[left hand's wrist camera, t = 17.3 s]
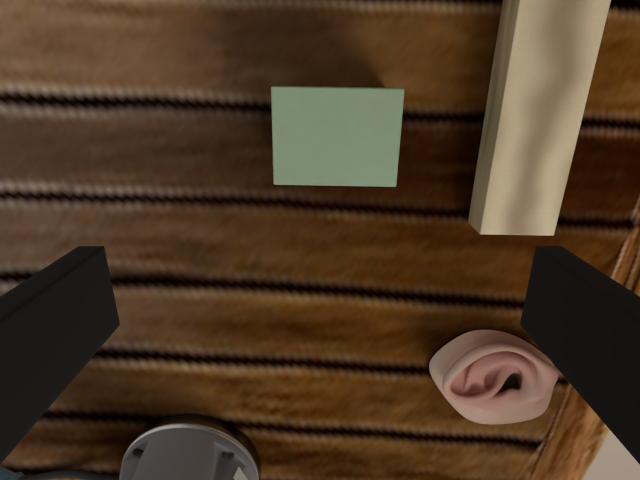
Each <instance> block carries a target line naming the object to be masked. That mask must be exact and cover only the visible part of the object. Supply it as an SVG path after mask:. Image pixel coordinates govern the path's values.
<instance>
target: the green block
mask: <svg viewBox="0 0 640 480" xmlns="http://www.w3.org/2000/svg"><path fill="white" fill-rule="evenodd" d="M403 101H404V89H403V88H381V87H321V86H272V87H271V104H272V140H273V177H274V184H275V185H327V186H382V187H395V186H396V182H397V171H398V159H399V147H400V136H401V124H402V113H403Z"/></svg>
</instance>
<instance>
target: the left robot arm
mask: <svg viewBox="0 0 640 480" xmlns="http://www.w3.org/2000/svg"><path fill="white" fill-rule="evenodd" d="M119 325H120V323H119V318H118V313H117V308H116V303H115V298H114V293H113V288H112V283H111V279H110V274H109V269H108V264H107V259H106V254H105V249H104V246H79V247H77V248H75V249H74V250H72V251H71V252H69V253H68V254H66V255H65V256H63V257H61V258H60V259H58V260H57V261H55V262H54V263H52V264H51V265H49V266H47V267H46V268H44V269H43V270H41V271H40V272H38V273H37V274H35V275H34V276H32V277H30V278H29V279H27V280H26V281H24V282H23V283H21V284H20V285H18V286H16V287H15V288H13V289H12V290H10V291H9V292H7V293H6V294H4V295H2V296H1V297H0V464H1V463H2V462H3V461H4V459H5V458H6V457H7V456H8V455H9V454H10V452H11V451H12V450H13V449H14V448H15V446H16V445H17V444H18V443H19V442H20V441H21V439H22V438H23V437H24V436H25V435H26V434H27V432H28V431H29V430H30V429H31V428H32V427H33V425H34V424H35V423H36V422H37V421H38V420H39V418H40V417H41V416H42V415H43V414H44V413H45V411H46V410H47V409H48V408H49V407H50V406H51V404H52V403H53V402H54V401H55V400H56V399H57V397H58V396H59V395H60V394H61V393H62V392H63V390H64V389H65V388H66V387H67V386H68V385H69V383H70V382H71V381H72V380H73V379H74V378H75V376H76V375H77V374H78V373H79V372H80V371H81V369H82V368H83V367H84V366H85V365H86V364H87V362H88V361H89V360H90V359H91V358H92V357H93V355H94V354H95V353H96V352H97V351H98V350H99V348H100V347H101V346H102V345H103V344H104V343H105V341H106V340H107V339H108V338H109V337H110V336H111V334H112V333H113V332H114V331H115V330H116V329H117V327H118V326H119ZM520 325H521V326H522V327H523V329H524V330H525V331H526V332H527V333H528V334H529V336H530V337H531V338H532V339H533V340H534V341H535V343H536V344H537V345H538V346H539V347H540V348H541V350H542V351H543V352H544V353H545V354H546V355H547V357H548V358H549V359H550V360H551V361H552V362H553V364H554V365H555V366H556V367H557V368H558V369H559V371H560V372H561V373H562V374H563V375H564V376H565V378H566V379H567V380H568V381H569V382H570V383H571V385H572V386H573V387H574V388H575V389H576V390H577V392H578V393H579V394H580V395H581V396H582V397H583V399H584V400H585V401H586V402H587V403H588V404H589V406H590V407H591V408H592V409H593V410H594V411H595V413H596V414H597V415H598V416H599V417H600V418H601V420H602V421H603V422H604V423H605V424H606V425H607V427H608V428H609V429H610V430H611V431H612V432H613V434H614V435H615V436H616V437H617V438H618V439H619V441H620V442H621V443H622V444H623V445H624V446H625V448H626V449H627V450H628V451H629V452H630V454H631V455H632V456H633V457H634V458H635V459H636V460H637V462H638V463H639V464H640V297H639V296H638V295H636V294H634V293H633V292H631V291H630V290H628V289H627V288H625V287H624V286H622V285H620V284H619V283H617V282H616V281H614V280H613V279H611V278H610V277H608V276H606V275H605V274H603V273H602V272H600V271H599V270H597V269H596V268H594V267H593V266H591V265H589V264H588V263H586V262H585V261H583V260H582V259H580V258H579V257H577V256H575V255H574V254H572V253H571V252H569V251H568V250H566V249H565V248H563V247H561V246H536V249H535V254H534V259H533V264H532V269H531V274H530V279H529V283H528V288H527V293H526V298H525V303H524V308H523V313H522V318H521V323H520ZM260 475H261V464H260V459H259V456H258V454H257V452H256V450H255V448H254V447H253V445H252V444H251V443H250V441H249V440H248V439H247V438H246V437H245V436H244V435H243V434H241V433H240V432H239V431H237V430H236V429H234V428H233V427H231V426H229V425H227V424H225V423H223V422H221V421H218V420H215V419H212V418H208V417H204V416H197V415H175V416H169V417H165V418H161V419H159V420H156V421H154V422H152V423H150V424H148V425H147V426H145V427H144V428H143V429H141V430H140V431H139V432H138V433H137V434H136V436H135V437H134V439H133V440H132V442H131V444H130V446H129V448H128V449H127V451H126V453H125V455H124V457H123V460H122V465H121V470H120V476H119V477H115V476H108V475H101V474H95V473H91V472H87V471H82V470H58V471H51V472H46V473H41V474H37V475H32V476H27V477H24V474H23V473H21V472H17V473H14V472H12V471H9V470H7V469H5V468H3V467H1V466H0V480H47V479H53V478H60V477H74V478H81V479H85V480H260Z"/></svg>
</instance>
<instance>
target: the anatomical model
mask: <svg viewBox="0 0 640 480" xmlns="http://www.w3.org/2000/svg"><path fill="white" fill-rule="evenodd" d="M429 370H430V374H431V376H432V378H433V380H434V382H435V383H436V385H437V387H438V388H439V390H440V391H441V392H442V394H443V395H444V396H445V398H446V399H447V400H448V402H449V403H450V404H451V405H452V406H453V407H454V408H455V409H456V410H457V411H458V412H459V413H460V414H461V415H462V416H464V417H465V418H467V419H469V420H471V421H473V422H477V423H481V424H508V423H515V422H521V421H526V420H530V419H534V418H536V417H538V416H540V415H541V414H543V413H544V412H545V410H546V409H547V407H548V404H549V402H550V399H551V395H552V391H553V387H554V384H555V383H556V381H557V378H558V373H557V371H556V369H555V368H554V365H553V363H552V361H551V360H550V359H549V358H548V357H547V356H546V355H544V354H543V353H542V352H541V351H539V350H538V349H536V348H535V347H534V346H532V345H531V344H529V343H527V342H526V341H524V340H522V339H520V338H518V337H516V336H514V335H511V334H509V333H505V332H501V331H496V330H475V331H470V332H467V333H465V334H462V335H460V336H458V337H457V338H455V339H453V340H452V341H450V342H449V343H447V344H446V345H445V346H443V347H442V348H441V349H440V350H439V351H438V352H437V353H436V354H435V355H434V356H433V357H432V359H431V361H430V364H429Z"/></svg>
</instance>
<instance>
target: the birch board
mask: <svg viewBox="0 0 640 480" xmlns="http://www.w3.org/2000/svg"><path fill="white" fill-rule="evenodd" d="M610 1H611V0H503V3H502V9H501V15H500V22H499V28H498V34H497V41H496V47H495V53H494V60H493V66H492V73H491V79H490V85H489V92H488V98H487V104H486V111H485V117H484V123H483V130H482V136H481V142H480V149H479V155H478V162H477V168H476V174H475V181H474V187H473V193H472V200H471V206H470V212H469V219H468V223H469V224H470V225H471V226H472V227H473V228H474V229H475V230H476V231H477V232H478V233H479V234H499V235H554V232H555V228H556V224H557V220H558V216H559V212H560V207H561V203H562V199H563V195H564V191H565V187H566V183H567V179H568V175H569V170H570V166H571V162H572V158H573V154H574V150H575V146H576V142H577V137H578V133H579V129H580V125H581V121H582V117H583V113H584V109H585V104H586V100H587V96H588V92H589V88H590V84H591V80H592V76H593V72H594V67H595V63H596V59H597V55H598V51H599V47H600V43H601V39H602V34H603V30H604V26H605V22H606V18H607V14H608V10H609V6H610Z"/></svg>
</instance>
